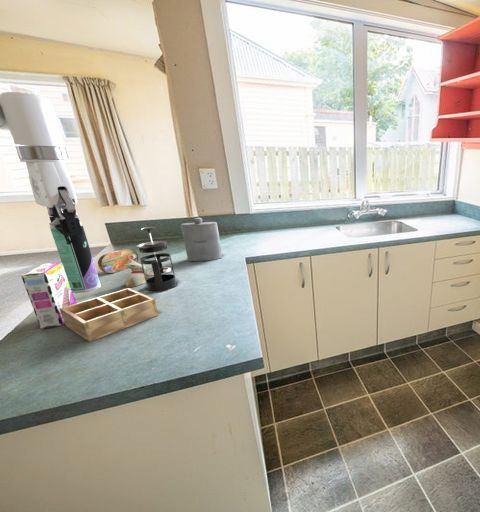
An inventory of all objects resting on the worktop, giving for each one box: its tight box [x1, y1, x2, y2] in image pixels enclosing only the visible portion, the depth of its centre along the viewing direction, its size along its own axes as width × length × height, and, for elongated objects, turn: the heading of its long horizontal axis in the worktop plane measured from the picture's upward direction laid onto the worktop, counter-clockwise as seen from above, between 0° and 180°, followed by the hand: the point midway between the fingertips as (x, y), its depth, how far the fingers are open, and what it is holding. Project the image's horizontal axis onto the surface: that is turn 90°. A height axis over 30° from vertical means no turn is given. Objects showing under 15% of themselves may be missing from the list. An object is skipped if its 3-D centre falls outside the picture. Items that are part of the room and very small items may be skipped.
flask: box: [180, 217, 223, 262], centre depth 141 cm, size 15×6×20 cm, turn 107°
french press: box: [136, 226, 178, 293], centre depth 108 cm, size 12×9×23 cm
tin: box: [97, 248, 139, 274], centre depth 128 cm, size 15×3×8 cm, turn 168°
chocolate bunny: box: [125, 260, 147, 289], centre depth 113 cm, size 6×8×10 cm
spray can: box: [49, 213, 102, 294], centre depth 73 cm, size 6×6×20 cm
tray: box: [60, 287, 159, 343], centre depth 88 cm, size 16×16×6 cm
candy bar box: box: [20, 261, 77, 330], centre depth 87 cm, size 11×5×16 cm, turn 27°
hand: (68, 232), depth 72 cm, fingers closed on spray can, 5 cm apart
